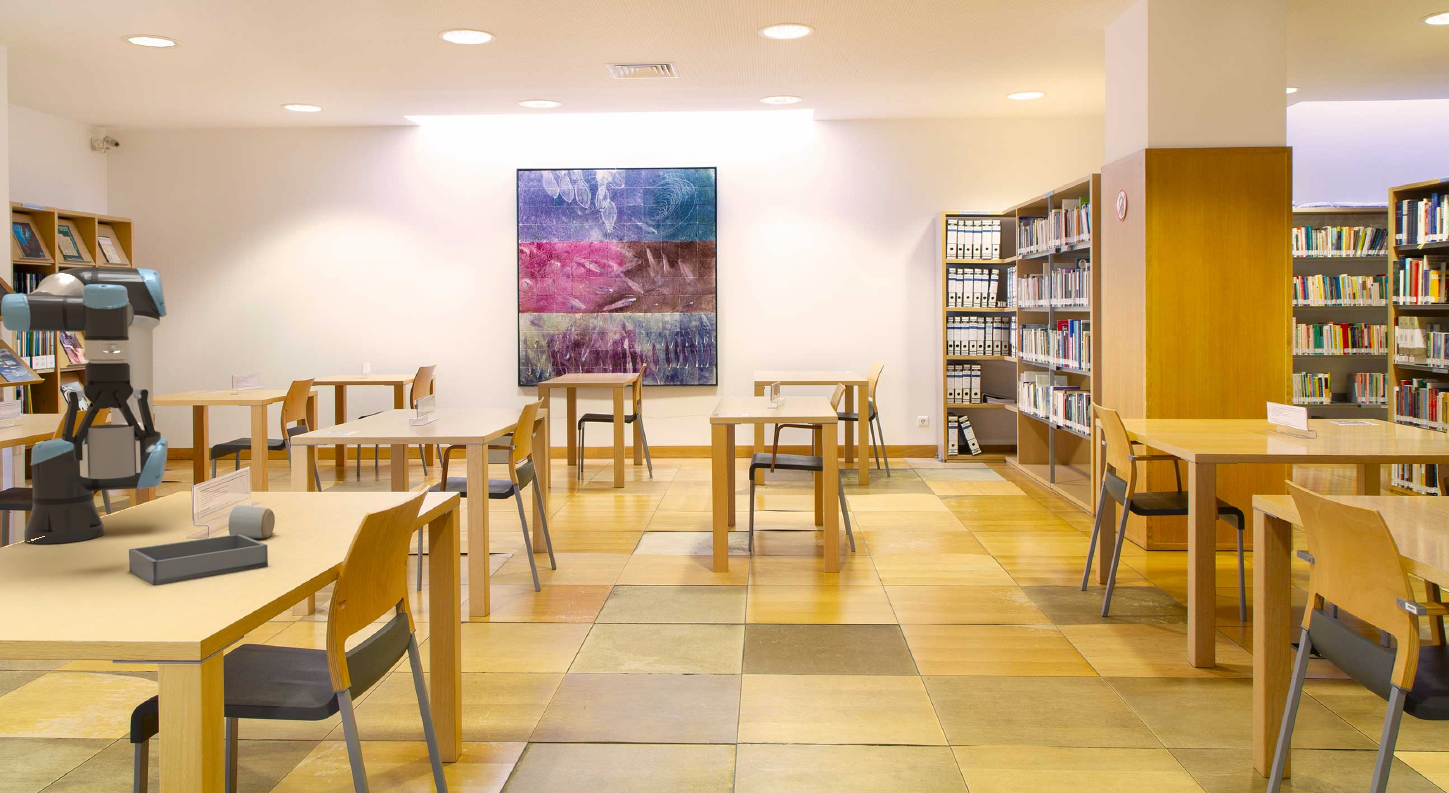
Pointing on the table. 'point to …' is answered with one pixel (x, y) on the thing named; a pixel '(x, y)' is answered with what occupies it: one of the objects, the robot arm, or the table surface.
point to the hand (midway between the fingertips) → (110, 474)
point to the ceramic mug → (251, 522)
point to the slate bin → (197, 558)
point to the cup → (110, 451)
